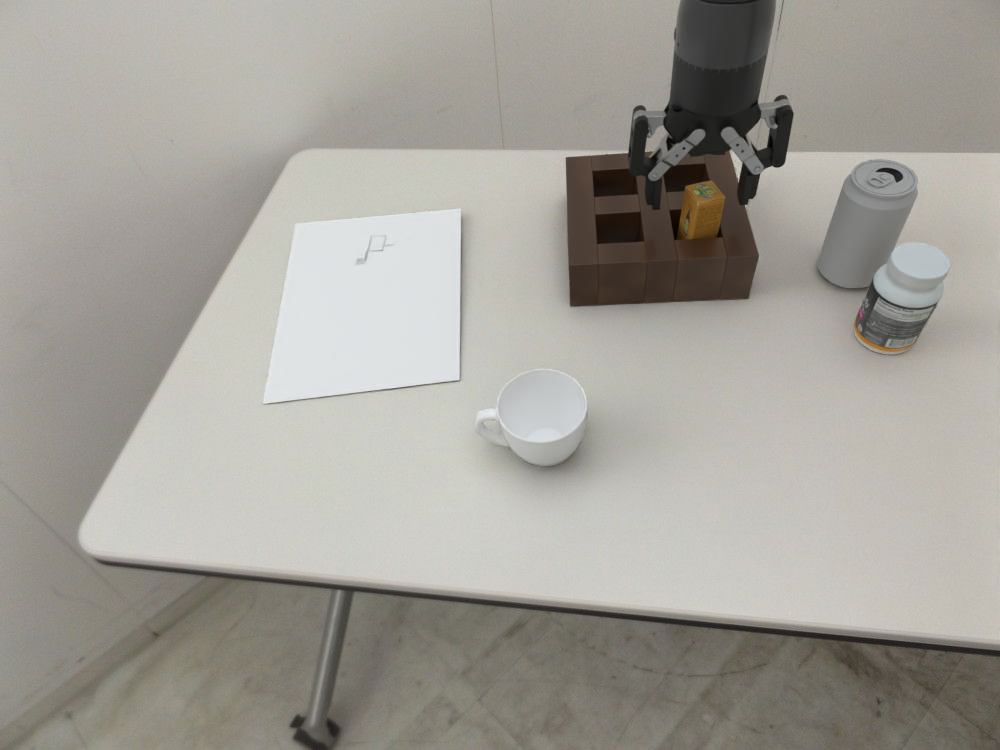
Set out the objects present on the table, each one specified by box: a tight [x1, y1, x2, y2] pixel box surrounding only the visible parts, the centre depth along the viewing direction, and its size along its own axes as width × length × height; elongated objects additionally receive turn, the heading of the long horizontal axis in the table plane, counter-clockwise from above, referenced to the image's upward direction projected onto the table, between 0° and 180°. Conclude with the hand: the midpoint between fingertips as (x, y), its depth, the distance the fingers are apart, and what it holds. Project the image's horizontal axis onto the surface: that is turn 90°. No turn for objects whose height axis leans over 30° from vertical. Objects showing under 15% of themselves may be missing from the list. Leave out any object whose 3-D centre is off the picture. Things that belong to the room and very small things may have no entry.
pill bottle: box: [852, 241, 951, 355], centre depth 63 cm, size 6×6×10 cm
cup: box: [473, 368, 589, 467], centre depth 61 cm, size 8×10×7 cm
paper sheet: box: [262, 208, 462, 405], centre depth 78 cm, size 24×29×1 cm
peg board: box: [565, 150, 760, 307], centre depth 76 cm, size 19×19×6 cm
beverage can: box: [816, 158, 919, 289], centre depth 68 cm, size 6×6×12 cm
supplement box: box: [677, 181, 725, 240], centre depth 72 cm, size 3×3×10 cm
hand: (698, 202), depth 69 cm, fingers open, 8 cm apart
